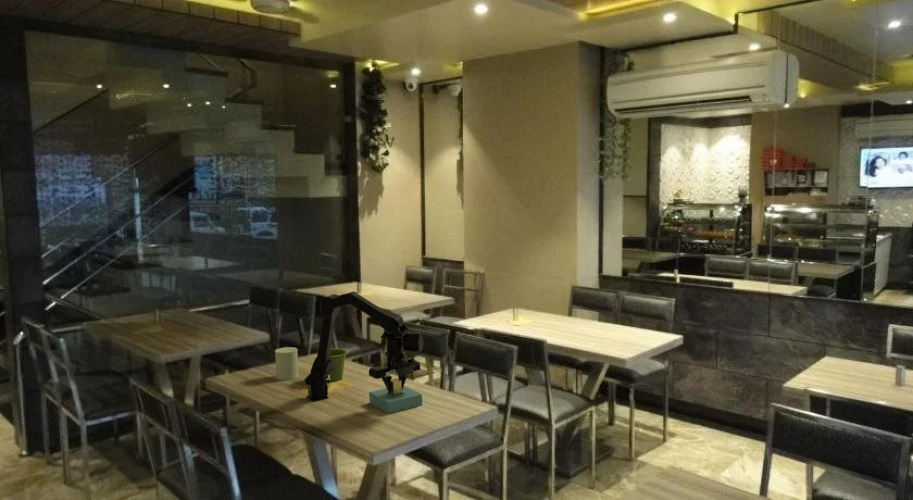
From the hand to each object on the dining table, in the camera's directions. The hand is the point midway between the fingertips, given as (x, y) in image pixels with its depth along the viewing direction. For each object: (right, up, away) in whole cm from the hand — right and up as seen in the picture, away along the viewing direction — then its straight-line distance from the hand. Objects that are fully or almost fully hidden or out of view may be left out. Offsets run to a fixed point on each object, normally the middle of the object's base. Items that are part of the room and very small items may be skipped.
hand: (395, 391), depth 237 cm
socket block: (0, -4, 0) cm, 4 cm away
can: (-49, -2, +35) cm, 60 cm away
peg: (0, -5, 0) cm, 5 cm away
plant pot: (-29, -2, +31) cm, 42 cm away
